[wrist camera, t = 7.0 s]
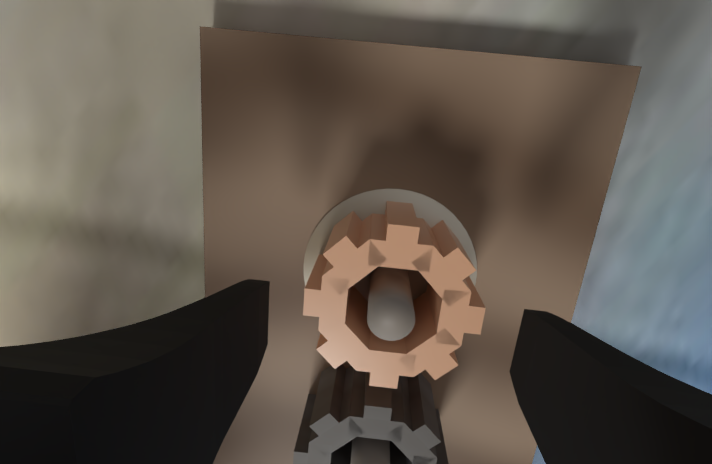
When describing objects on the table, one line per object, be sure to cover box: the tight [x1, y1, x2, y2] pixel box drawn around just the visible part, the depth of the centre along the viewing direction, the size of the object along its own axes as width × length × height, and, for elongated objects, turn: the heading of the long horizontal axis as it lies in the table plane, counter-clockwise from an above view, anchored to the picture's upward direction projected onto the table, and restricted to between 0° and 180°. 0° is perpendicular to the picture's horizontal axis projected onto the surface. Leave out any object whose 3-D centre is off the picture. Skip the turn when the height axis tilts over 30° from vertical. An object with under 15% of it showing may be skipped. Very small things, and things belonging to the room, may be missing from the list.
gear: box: [303, 201, 486, 389], centre depth 14 cm, size 5×5×3 cm
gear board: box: [200, 27, 641, 464], centre depth 15 cm, size 20×14×4 cm
